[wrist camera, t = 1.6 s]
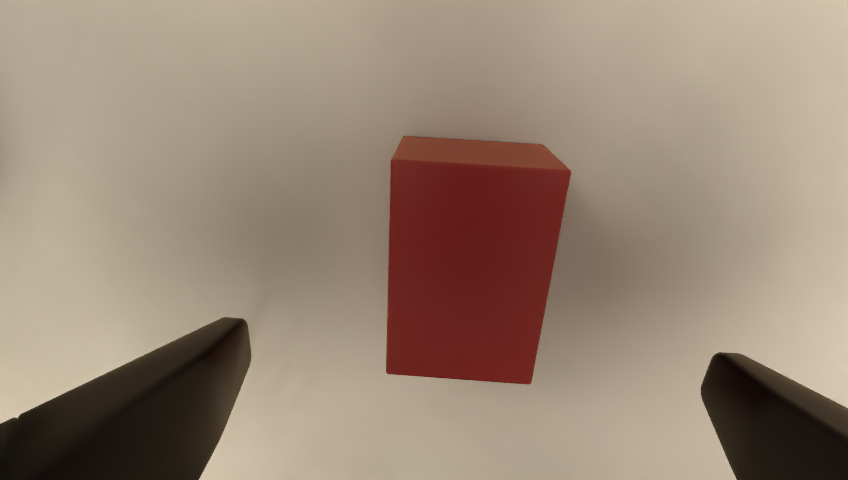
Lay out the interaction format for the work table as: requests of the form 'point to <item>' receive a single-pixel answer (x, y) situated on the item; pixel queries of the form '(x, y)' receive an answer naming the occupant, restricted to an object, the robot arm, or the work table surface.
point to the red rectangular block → (471, 256)
